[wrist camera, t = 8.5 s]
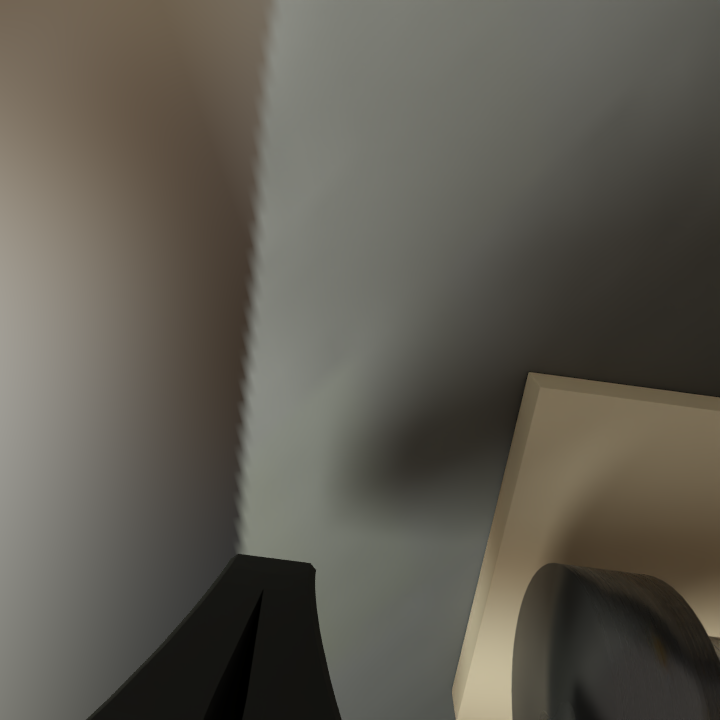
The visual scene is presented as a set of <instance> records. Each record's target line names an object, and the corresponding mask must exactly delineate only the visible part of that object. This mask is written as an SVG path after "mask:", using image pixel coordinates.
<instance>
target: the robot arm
mask: <svg viewBox="0 0 720 720" xmlns="http://www.w3.org/2000/svg"><path fill="white" fill-rule="evenodd" d="M315 573H316V569H315V568H314V567H313V566H312V565H311V563H305V562H297V561H289V560H281V559H274V558H266V557H258V556H250V555H242V554H238V555H236V556H235V557H233V558H232V559H231V560H230V561H229V563H228V564H227V566H226V567H225V568H224V570H223V571H222V572H221V574H220V575H219V577H218V578H217V579H216V581H215V582H214V583H213V584H212V586H211V587H210V589H208V591H207V592H206V593H205V595H204V596H203V597H202V598H201V599H200V601H199V602H198V603H197V604H196V606H195V607H194V608H193V609H192V610H191V611H190V613H189V614H188V615H187V616H186V617H185V618H184V619H183V621H182V622H181V623H180V624H179V625H178V626H177V627H176V629H175V630H174V631H173V632H172V633H171V634H170V635H169V636H168V638H167V639H166V640H165V641H164V642H163V643H162V644H161V645H160V647H159V648H158V649H157V650H156V651H155V652H154V653H153V654H152V655H151V656H150V657H149V658H148V659H147V661H145V662H144V663H143V664H142V665H141V666H140V667H139V668H138V669H137V670H136V672H134V673H133V674H132V676H130V677H129V678H128V680H126V682H125V683H124V684H123V685H122V686H121V687H120V688H119V689H118V690H117V691H116V692H115V693H114V694H113V695H112V696H111V697H110V698H109V699H108V700H107V701H106V702H104V703H103V704H102V705H101V706H100V707H99V708H98V709H97V710H96V711H95V712H94V713H93V714H92V715H91V716H90V717H89V718H87V719H86V720H341V716H340V713H339V709H338V706H337V703H336V699H335V695H334V691H333V688H332V684H331V680H330V676H329V671H328V667H327V662H326V658H325V653H324V649H323V644H322V639H321V634H320V628H319V621H318V614H317V607H316V596H315Z"/></svg>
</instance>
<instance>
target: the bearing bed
mask: <svg viewBox="0 0 720 720" xmlns="http://www.w3.org/2000/svg"><path fill="white" fill-rule="evenodd" d="M548 563H560V564H567V565H575V566H583V567H591V568H598V569H606V570H614V571H622V572H629V573H637V574H645V575H650V576H654V577H656V578H659V579H661V580H663V581H664V582H666V583H667V584H669V585H670V586H671V587H673V588H674V589H675V590H676V591H677V592H678V593H679V594H680V595H681V596H682V597H683V598H684V599H685V601H686V602H687V603H688V604H689V605H690V607H691V608H692V609H693V611H694V612H695V614H696V615H697V617H698V618H699V620H700V622H701V623H702V625H703V627H704V629H705V630H706V632H707V634H708V636H712V637H720V398H719V397H712V396H704V395H697V394H690V393H682V392H675V391H667V390H660V389H652V388H645V387H637V386H630V385H622V384H615V383H607V382H600V381H592V380H585V379H577V378H570V377H562V376H555V375H547V374H540V373H533V372H529V373H528V377H527V381H526V385H525V389H524V394H523V398H522V402H521V406H520V410H519V414H518V419H517V423H516V427H515V431H514V435H513V439H512V443H511V448H510V452H509V456H508V460H507V464H506V468H505V472H504V477H503V481H502V485H501V489H500V493H499V497H498V502H497V506H496V510H495V514H494V518H493V522H492V526H491V531H490V535H489V539H488V543H487V547H486V551H485V555H484V560H483V564H482V568H481V572H480V576H479V580H478V585H477V589H476V593H475V597H474V601H473V605H472V609H471V614H470V618H469V622H468V626H467V630H466V634H465V638H464V643H463V647H462V651H461V655H460V659H459V663H458V668H457V672H456V676H455V680H454V684H453V688H452V695H453V702H454V709H455V716H456V720H513V719H512V693H511V688H512V658H513V647H514V639H515V631H516V626H517V620H518V615H519V611H520V607H521V604H522V600H523V597H524V594H525V592H526V589H527V587H528V585H529V583H530V581H531V579H532V577H533V576H534V575H535V573H536V572H537V571H538V570H539V569H540V568H541V567H542V566H544V565H546V564H548Z"/></svg>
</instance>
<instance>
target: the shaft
mask: <svg viewBox="0 0 720 720" xmlns="http://www.w3.org/2000/svg"><path fill="white" fill-rule="evenodd" d="M511 693H512V719H513V720H720V637H712V636H708V634H707V632H706V630H705V629H704V627H703V625H702V623H701V622H700V620H699V618H698V617H697V615H696V614H695V612H694V611H693V609H692V608H691V607H690V605H689V604H688V603H687V602H686V601H685V599H684V598H683V597H682V596H681V595H680V594H679V593H678V592H677V591H676V590H675V589H674V588H673V587H671V586H670V585H669V584H667V583H666V582H664V581H663V580H661V579H659V578H656V577H654V576H650V575H645V574H637V573H629V572H622V571H614V570H606V569H598V568H591V567H583V566H575V565H567V564H560V563H548V564H546V565H544V566H542V567H541V568H540V569H539V570H538V571H537V572H536V573H535V575H534V576H533V577H532V579H531V581H530V583H529V585H528V587H527V589H526V592H525V594H524V597H523V600H522V604H521V607H520V611H519V615H518V620H517V626H516V631H515V639H514V647H513V658H512V688H511Z"/></svg>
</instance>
